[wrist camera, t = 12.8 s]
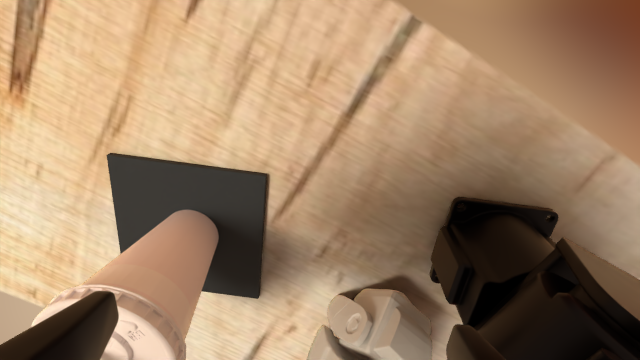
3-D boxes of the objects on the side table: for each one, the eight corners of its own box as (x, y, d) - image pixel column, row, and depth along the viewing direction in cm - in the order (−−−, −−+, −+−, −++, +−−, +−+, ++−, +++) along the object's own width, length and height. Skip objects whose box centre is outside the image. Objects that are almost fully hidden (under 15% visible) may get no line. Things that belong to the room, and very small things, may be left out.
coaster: (267, 173, 22) (266, 176, 22) (259, 295, 26) (258, 299, 26) (110, 152, 22) (106, 154, 22) (127, 277, 26) (124, 281, 26)
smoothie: (220, 183, 22) (54, 404, 9) (250, 265, 24) (151, 528, 12) (129, 199, 23) (-140, 423, 10) (166, 277, 25) (-11, 534, 13)
